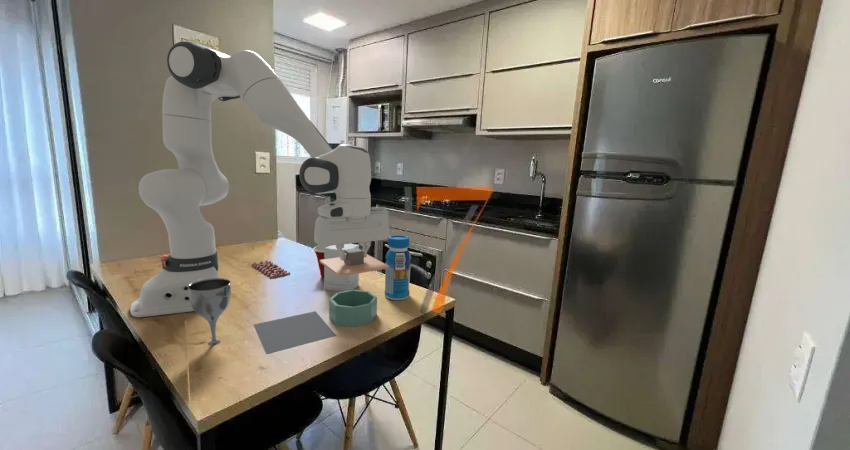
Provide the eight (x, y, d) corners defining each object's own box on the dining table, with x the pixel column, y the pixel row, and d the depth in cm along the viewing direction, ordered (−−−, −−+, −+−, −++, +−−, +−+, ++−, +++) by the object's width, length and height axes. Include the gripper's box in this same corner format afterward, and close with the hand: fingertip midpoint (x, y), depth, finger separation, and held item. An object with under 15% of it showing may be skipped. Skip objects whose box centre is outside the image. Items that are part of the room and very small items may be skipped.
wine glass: (205, 337, 82) (201, 277, 79) (240, 337, 83) (236, 278, 80) (185, 355, 74) (179, 290, 72) (223, 355, 75) (219, 290, 72)
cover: (338, 276, 82) (338, 260, 82) (319, 262, 94) (319, 247, 93) (389, 268, 91) (389, 253, 90) (366, 255, 102) (366, 242, 101)
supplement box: (348, 294, 112) (349, 250, 109) (323, 291, 113) (323, 248, 111) (359, 285, 121) (359, 244, 118) (335, 282, 122) (335, 242, 120)
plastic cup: (311, 274, 130) (311, 243, 128) (340, 271, 134) (340, 241, 132) (315, 283, 120) (315, 250, 118) (346, 280, 125) (346, 248, 123)
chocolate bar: (271, 280, 123) (271, 275, 122) (251, 267, 136) (251, 262, 135) (290, 276, 128) (290, 271, 128) (270, 264, 141) (270, 259, 140)
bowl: (341, 332, 87) (341, 311, 86) (324, 314, 97) (324, 294, 95) (382, 322, 94) (383, 301, 93) (363, 306, 103) (363, 287, 102)
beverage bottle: (379, 297, 111) (380, 237, 107) (392, 289, 118) (394, 233, 114) (401, 303, 107) (404, 241, 103) (414, 294, 115) (416, 236, 111)
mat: (266, 357, 75) (266, 354, 75) (253, 327, 88) (253, 324, 88) (336, 338, 84) (336, 335, 84) (315, 313, 97) (315, 311, 97)
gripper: (382, 204, 98) (382, 251, 100) (311, 208, 86) (312, 260, 89) (394, 207, 93) (392, 256, 95) (319, 211, 81) (320, 267, 84)
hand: (353, 258), depth 92 cm, fingers closed on cover, 4 cm apart
